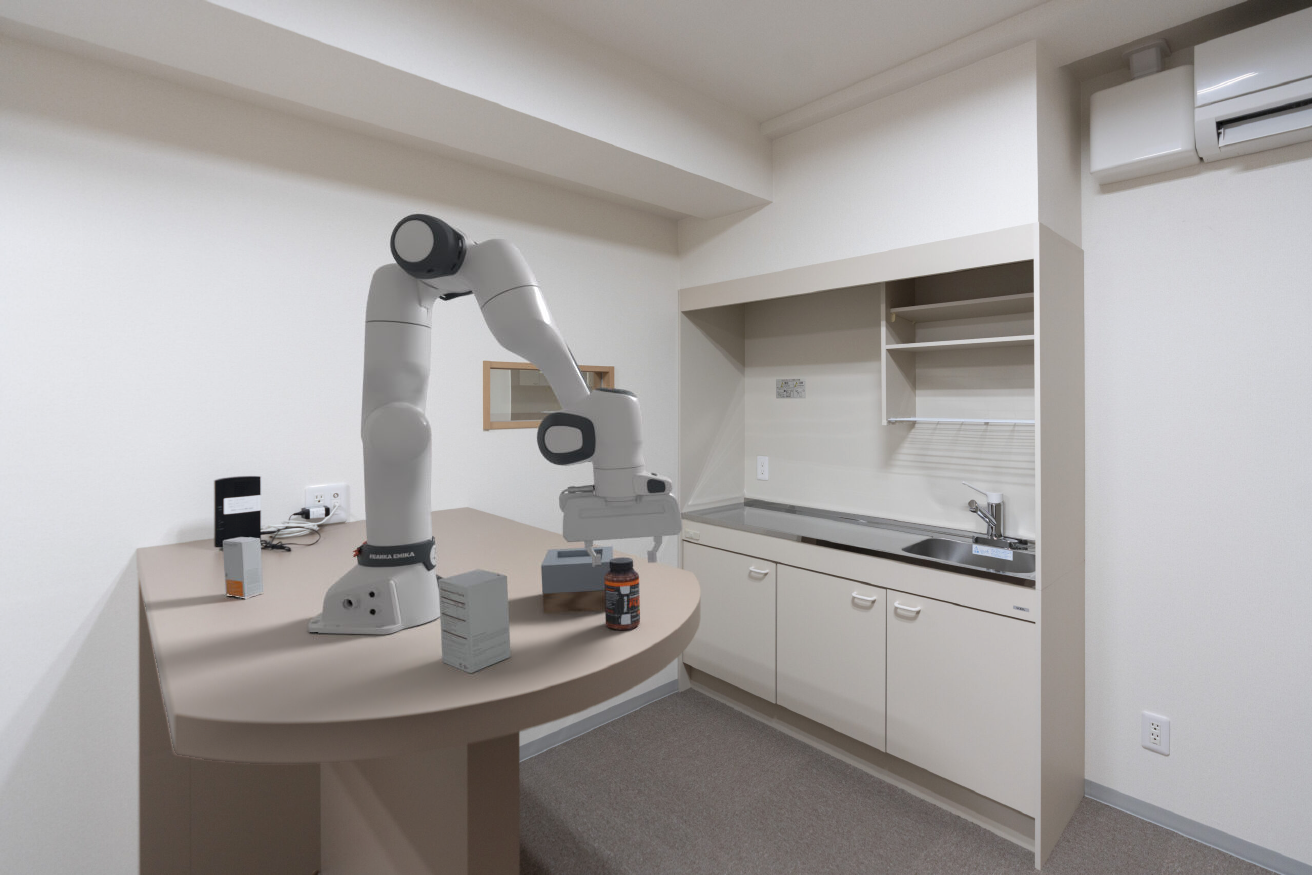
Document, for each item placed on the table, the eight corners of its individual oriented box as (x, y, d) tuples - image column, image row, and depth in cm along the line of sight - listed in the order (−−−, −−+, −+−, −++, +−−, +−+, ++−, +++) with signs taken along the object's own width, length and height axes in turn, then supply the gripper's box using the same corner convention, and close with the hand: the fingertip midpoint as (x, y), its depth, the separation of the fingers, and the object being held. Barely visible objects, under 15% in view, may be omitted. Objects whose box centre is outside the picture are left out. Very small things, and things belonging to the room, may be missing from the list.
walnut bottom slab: (543, 615, 114) (542, 593, 114) (551, 594, 127) (550, 574, 127) (614, 611, 115) (614, 590, 115) (615, 591, 128) (614, 572, 128)
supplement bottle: (636, 632, 103) (633, 564, 103) (601, 630, 104) (599, 563, 104) (643, 619, 109) (642, 555, 108) (611, 618, 110) (608, 555, 110)
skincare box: (224, 597, 130) (221, 540, 129) (245, 591, 134) (241, 536, 133) (244, 599, 128) (241, 542, 127) (264, 593, 132) (261, 537, 131)
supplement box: (482, 646, 99) (479, 567, 98) (512, 657, 94) (508, 574, 93) (440, 662, 93) (436, 578, 92) (469, 674, 88) (465, 586, 88)
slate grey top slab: (542, 593, 114) (541, 565, 114) (549, 574, 127) (548, 549, 127) (613, 589, 115) (612, 561, 115) (613, 571, 128) (612, 546, 128)
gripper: (556, 489, 102) (561, 573, 103) (681, 482, 103) (685, 564, 104) (559, 484, 108) (564, 563, 109) (677, 477, 109) (681, 555, 110)
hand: (624, 563), depth 106 cm, fingers open, 8 cm apart
